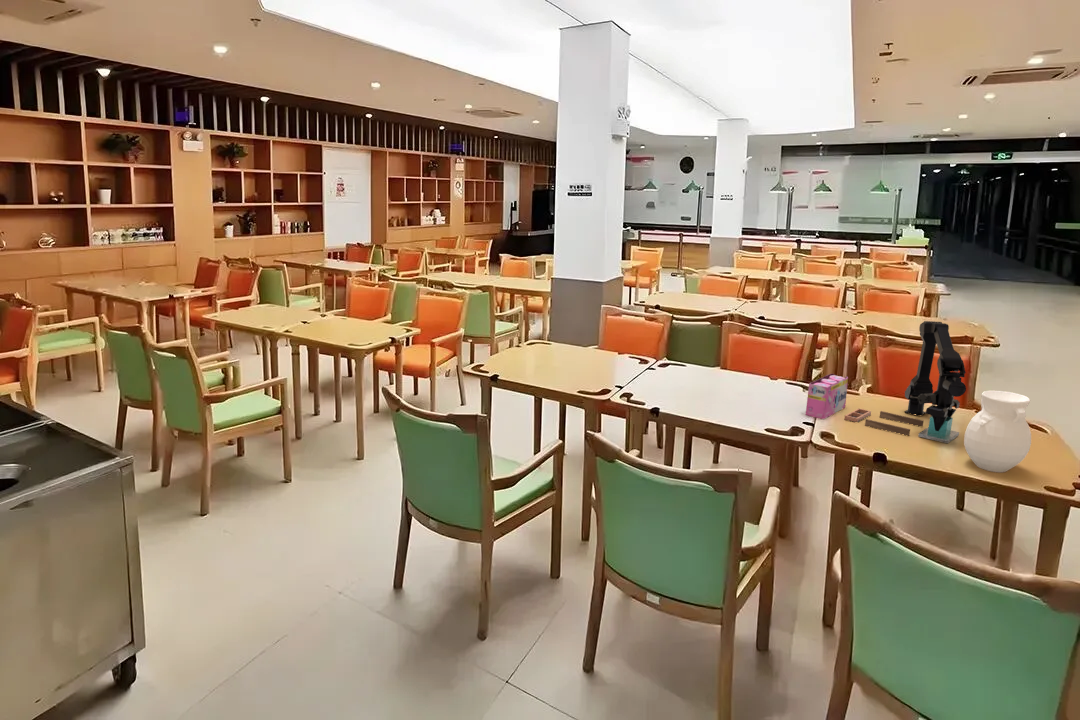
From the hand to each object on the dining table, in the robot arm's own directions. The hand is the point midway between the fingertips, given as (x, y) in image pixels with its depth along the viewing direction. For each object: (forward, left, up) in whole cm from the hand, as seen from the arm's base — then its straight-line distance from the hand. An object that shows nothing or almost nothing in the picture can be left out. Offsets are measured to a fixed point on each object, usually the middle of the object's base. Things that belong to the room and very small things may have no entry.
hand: (939, 428), depth 262 cm
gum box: (+1, -42, -3) cm, 43 cm away
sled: (0, 0, -3) cm, 3 cm away
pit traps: (0, -30, -3) cm, 30 cm away
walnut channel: (0, -16, -3) cm, 16 cm away
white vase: (+19, +22, -3) cm, 29 cm away
